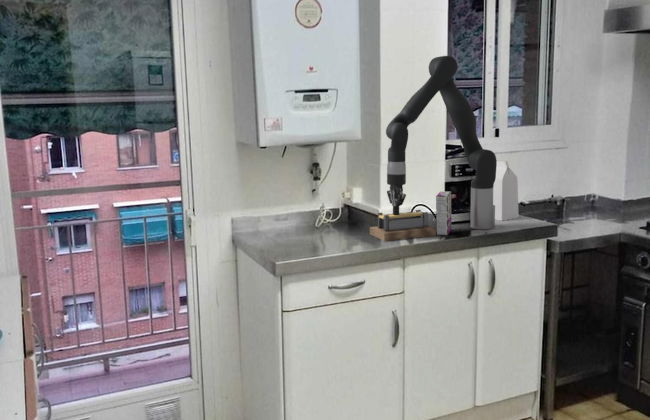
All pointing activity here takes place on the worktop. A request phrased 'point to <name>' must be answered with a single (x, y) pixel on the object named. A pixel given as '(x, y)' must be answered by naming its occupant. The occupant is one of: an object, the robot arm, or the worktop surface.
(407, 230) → the walnut board
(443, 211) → the candy bar box
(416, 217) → the block
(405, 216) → the strip
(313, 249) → the worktop surface
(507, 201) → the milk
